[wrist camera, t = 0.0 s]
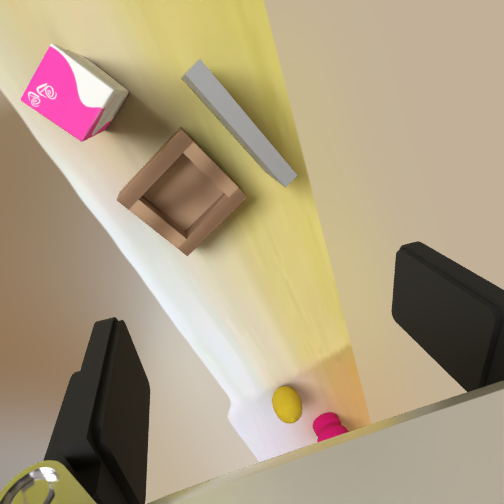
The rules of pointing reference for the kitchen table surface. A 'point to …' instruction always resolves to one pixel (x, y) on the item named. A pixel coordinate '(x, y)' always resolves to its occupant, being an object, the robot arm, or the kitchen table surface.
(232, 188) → the socket block
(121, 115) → the kitchen table surface
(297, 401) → the lemon
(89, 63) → the supplement box
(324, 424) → the pepper mill
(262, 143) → the backstop wall
